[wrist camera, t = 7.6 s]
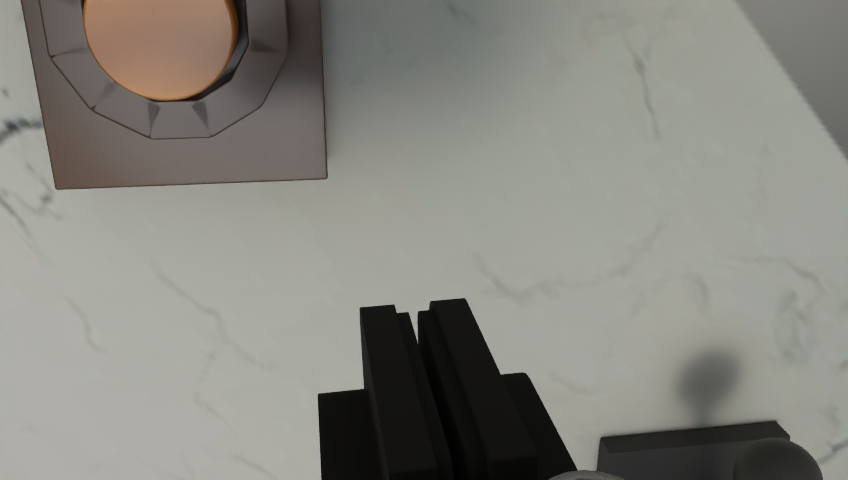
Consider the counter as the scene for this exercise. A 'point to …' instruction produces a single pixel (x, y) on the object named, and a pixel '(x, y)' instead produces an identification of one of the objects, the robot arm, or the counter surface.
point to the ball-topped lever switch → (775, 462)
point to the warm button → (162, 43)
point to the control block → (185, 106)
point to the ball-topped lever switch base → (682, 452)
